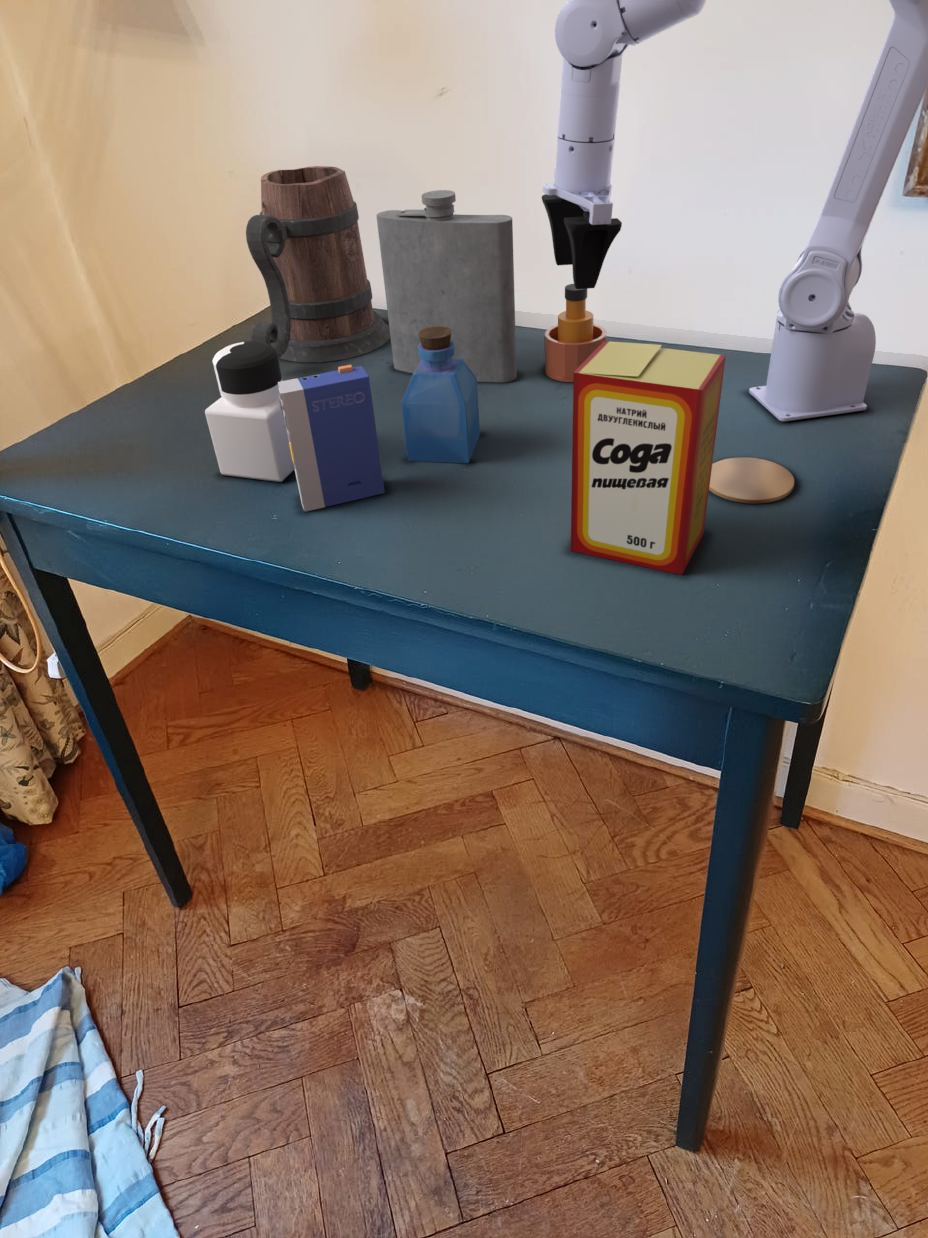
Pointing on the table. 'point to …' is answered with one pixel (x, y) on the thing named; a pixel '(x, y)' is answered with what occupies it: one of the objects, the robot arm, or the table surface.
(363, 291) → the tankard
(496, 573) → the table surface
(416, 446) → the perfume bottle
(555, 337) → the cup
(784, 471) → the coaster
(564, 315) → the bottle
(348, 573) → the table surface
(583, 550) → the baking soda box
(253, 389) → the medicine bottle
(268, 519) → the table surface
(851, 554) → the table surface
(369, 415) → the walkman
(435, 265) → the hip flask
